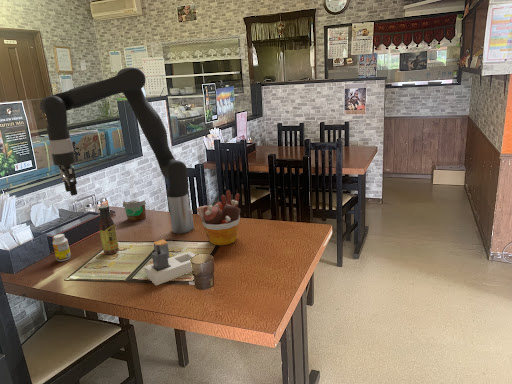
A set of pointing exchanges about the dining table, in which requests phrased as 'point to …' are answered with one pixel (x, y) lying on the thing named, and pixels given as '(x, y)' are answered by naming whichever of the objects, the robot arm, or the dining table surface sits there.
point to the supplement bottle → (61, 247)
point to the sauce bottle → (107, 231)
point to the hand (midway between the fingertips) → (71, 193)
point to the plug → (162, 246)
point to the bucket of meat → (221, 220)
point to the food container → (135, 210)
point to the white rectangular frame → (168, 266)
